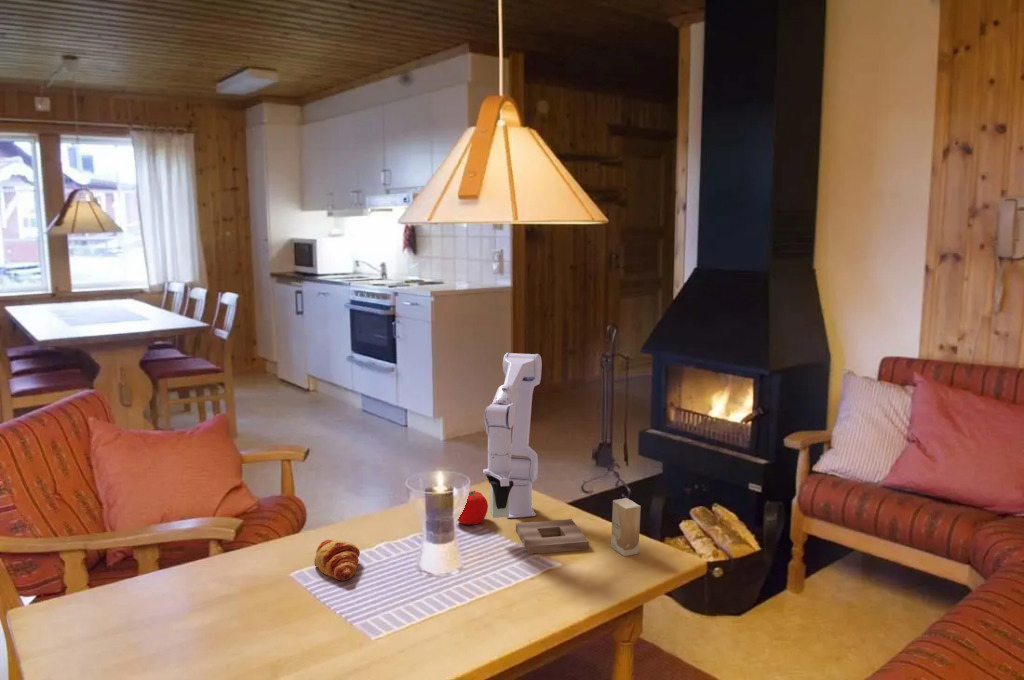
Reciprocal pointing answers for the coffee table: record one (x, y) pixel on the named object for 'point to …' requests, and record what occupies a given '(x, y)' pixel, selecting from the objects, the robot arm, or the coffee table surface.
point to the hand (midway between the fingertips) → (499, 504)
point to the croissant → (337, 559)
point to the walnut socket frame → (566, 541)
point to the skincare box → (625, 527)
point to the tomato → (474, 509)
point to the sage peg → (493, 508)
